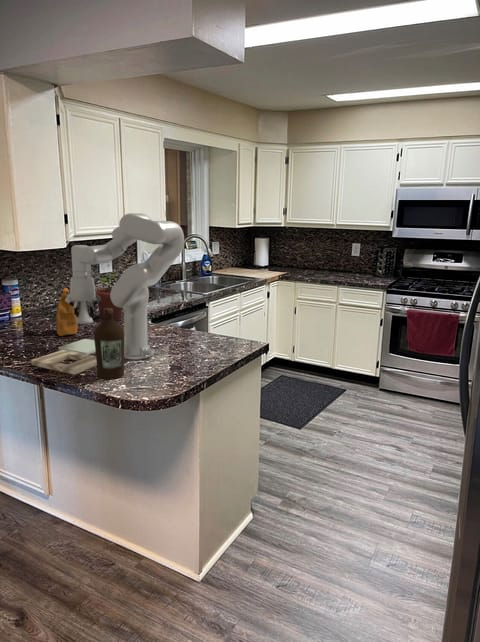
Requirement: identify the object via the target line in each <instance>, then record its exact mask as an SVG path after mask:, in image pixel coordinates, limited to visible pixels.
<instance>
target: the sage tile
mask: <svg viewBox="0 0 480 642" xmlns="http://www.w3.org/2000/svg"><path fill="white" fill-rule="evenodd" d="M57 349H58V351H61V350H67V351H72V352H77V353H82V354H87V355H91V354H94V353H96V350H95V341H94V339H88V338H83V339H80V340H78V341H74V342H69V343H67V344H65V345H61V346H58V348H57Z"/></svg>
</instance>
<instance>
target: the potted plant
mask: <svg viewBox="0 0 480 642" xmlns="http://www.w3.org/2000/svg"><path fill="white" fill-rule="evenodd" d="M116 276H117V274H116V273H115V274H114V273H113V274H110V276H109V277H110V278H108V279H106V277H102V278H100V279H99V280H100V281H102V282H107V285H108V288H107V287H106V288H100V289H95V292H96V293H97V295H98V296H99V297H100V298H101V300H100V301H99V302H98V303H97V304H98V305H97V306H98V315H99V319H97V320H96V322H97V323H101V322H102V321H103V320H104V309H106V308H112V309H113V319H114V320H115V321H116V322H118V321H121V320H122V311H124V308H125V307H124V308H120V307H117V306H115V305H114V304H113V303H112V301H111V298H110V293H111V290H112V288H113V287H112V288H111V286H110V279H114V277H116ZM122 309H123V310H122Z"/></svg>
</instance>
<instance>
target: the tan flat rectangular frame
mask: <svg viewBox="0 0 480 642" xmlns="http://www.w3.org/2000/svg"><path fill="white" fill-rule="evenodd" d="M65 360H74V362H72V363H69V364H68V363H62V361H65ZM31 366H34V367H39V368H43V369H48V370H52V371H57V372H61V373H66V374H68V375H69V374H71V375H76V374H77V375H78V374H79V373H82V372H85V371H86V370H87V371H88V370H89V369H92V368H95V367H97V360H96V355H91V354H88V355H87V354H82V353H77V352H72V351H67V350H58V351H56V352H52V353H49V354H47V355H43V356H40V357H36V358H33V359H31Z"/></svg>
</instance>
